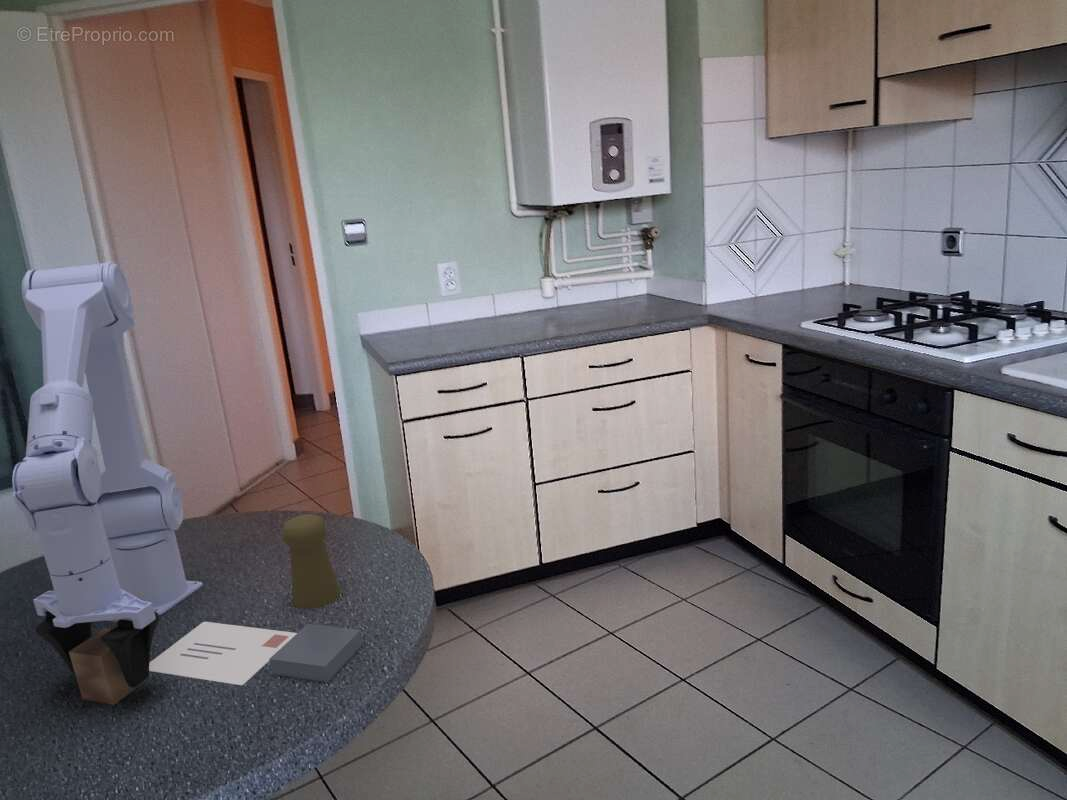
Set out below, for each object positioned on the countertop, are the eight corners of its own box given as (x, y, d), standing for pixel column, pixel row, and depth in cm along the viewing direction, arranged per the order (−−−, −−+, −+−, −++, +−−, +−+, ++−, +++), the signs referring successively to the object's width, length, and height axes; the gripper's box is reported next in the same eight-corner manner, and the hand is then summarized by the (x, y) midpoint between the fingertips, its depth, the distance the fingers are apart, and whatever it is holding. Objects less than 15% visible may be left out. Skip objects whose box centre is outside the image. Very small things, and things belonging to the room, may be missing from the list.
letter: (141, 670, 89) (140, 669, 89) (204, 622, 98) (203, 621, 98) (242, 686, 84) (242, 685, 84) (299, 634, 93) (298, 633, 93)
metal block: (273, 679, 86) (269, 658, 85) (311, 642, 92) (307, 623, 91) (328, 687, 83) (324, 666, 83) (363, 649, 90) (360, 629, 89)
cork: (328, 610, 98) (313, 529, 95) (283, 610, 99) (267, 529, 96) (348, 586, 103) (334, 508, 101) (306, 585, 105) (291, 508, 102)
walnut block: (83, 701, 85) (68, 651, 83) (117, 675, 89) (104, 628, 87) (114, 706, 83) (100, 656, 81) (148, 680, 87) (135, 632, 85)
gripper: (-6, 576, 81) (30, 691, 84) (101, 588, 76) (134, 710, 79) (55, 544, 87) (86, 653, 91) (157, 554, 82) (186, 668, 86)
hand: (112, 677), depth 85 cm, fingers open, 7 cm apart
